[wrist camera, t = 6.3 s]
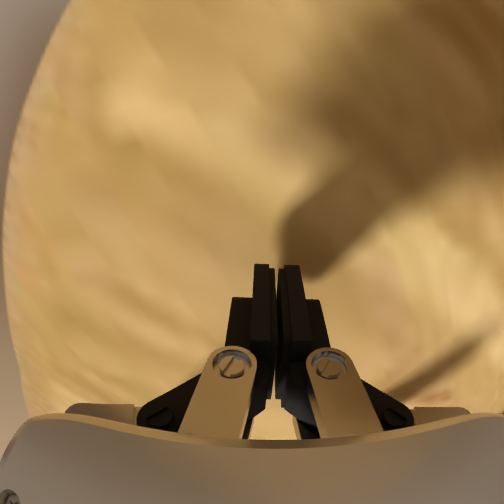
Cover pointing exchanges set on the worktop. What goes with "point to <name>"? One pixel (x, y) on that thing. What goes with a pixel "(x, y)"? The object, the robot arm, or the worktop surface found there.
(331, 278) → the worktop surface
